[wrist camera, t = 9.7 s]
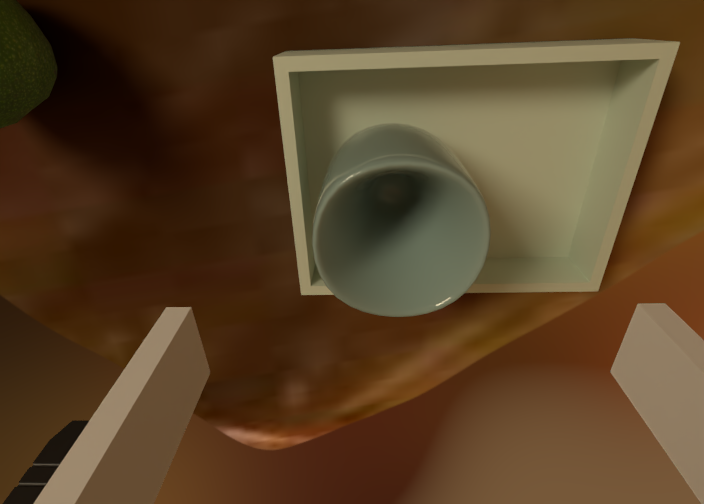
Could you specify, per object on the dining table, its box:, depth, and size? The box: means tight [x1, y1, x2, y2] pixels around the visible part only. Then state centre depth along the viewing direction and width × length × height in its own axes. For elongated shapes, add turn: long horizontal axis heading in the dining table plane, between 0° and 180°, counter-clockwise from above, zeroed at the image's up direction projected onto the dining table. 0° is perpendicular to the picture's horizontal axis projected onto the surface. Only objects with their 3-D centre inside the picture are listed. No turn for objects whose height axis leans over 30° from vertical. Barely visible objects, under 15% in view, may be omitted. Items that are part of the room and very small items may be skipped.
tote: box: [273, 38, 680, 295], centre depth 25 cm, size 14×19×4 cm
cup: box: [312, 123, 491, 317], centre depth 22 cm, size 8×8×10 cm
